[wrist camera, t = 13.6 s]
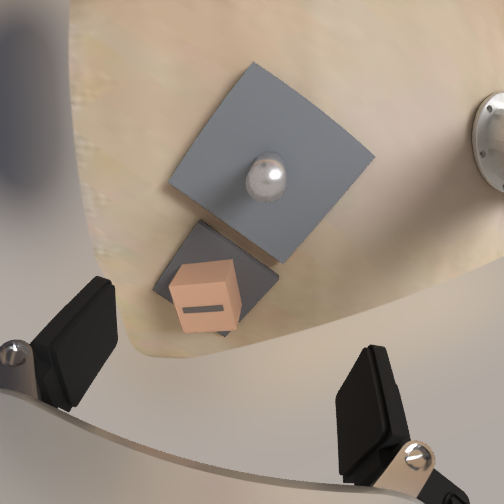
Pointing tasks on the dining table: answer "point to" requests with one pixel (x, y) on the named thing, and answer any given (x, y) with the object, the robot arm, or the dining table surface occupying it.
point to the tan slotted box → (207, 296)
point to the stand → (276, 140)
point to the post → (267, 178)
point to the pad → (215, 249)
